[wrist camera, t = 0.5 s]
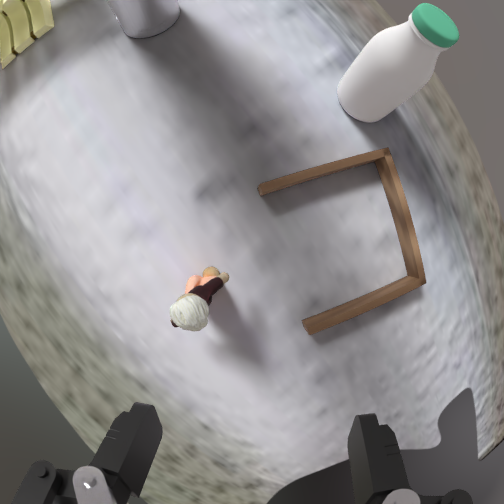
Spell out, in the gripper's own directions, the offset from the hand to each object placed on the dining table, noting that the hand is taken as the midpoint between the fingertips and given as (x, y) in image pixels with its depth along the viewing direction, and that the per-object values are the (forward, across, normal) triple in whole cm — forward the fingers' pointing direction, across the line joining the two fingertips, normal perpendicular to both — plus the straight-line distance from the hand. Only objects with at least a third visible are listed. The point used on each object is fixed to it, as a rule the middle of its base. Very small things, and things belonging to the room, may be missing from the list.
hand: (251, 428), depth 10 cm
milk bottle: (+34, -12, -18) cm, 40 cm away
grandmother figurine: (+24, +8, +6) cm, 26 cm away
